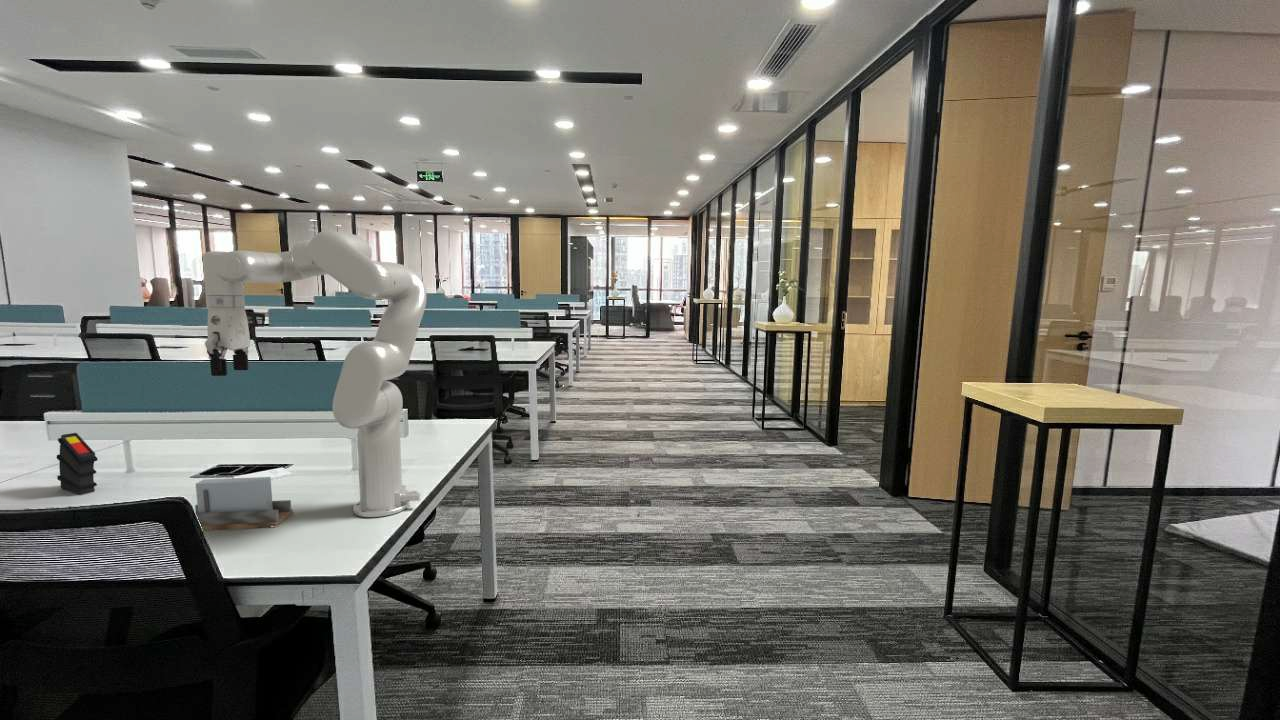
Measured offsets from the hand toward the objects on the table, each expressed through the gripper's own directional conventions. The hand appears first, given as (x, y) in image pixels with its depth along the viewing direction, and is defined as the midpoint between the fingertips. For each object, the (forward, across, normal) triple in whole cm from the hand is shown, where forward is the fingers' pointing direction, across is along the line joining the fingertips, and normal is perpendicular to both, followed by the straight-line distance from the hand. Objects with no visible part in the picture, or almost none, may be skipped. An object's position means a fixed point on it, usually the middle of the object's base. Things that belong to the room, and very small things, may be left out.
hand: (230, 372), depth 138 cm
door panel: (+32, -15, -7) cm, 36 cm away
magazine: (+33, +13, +45) cm, 57 cm away
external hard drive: (+34, +18, +3) cm, 38 cm away
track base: (+33, -15, -7) cm, 37 cm away
